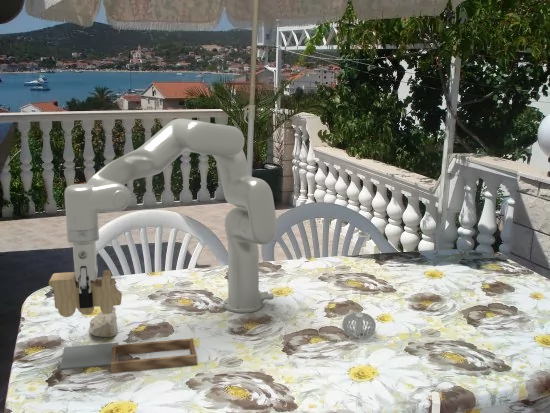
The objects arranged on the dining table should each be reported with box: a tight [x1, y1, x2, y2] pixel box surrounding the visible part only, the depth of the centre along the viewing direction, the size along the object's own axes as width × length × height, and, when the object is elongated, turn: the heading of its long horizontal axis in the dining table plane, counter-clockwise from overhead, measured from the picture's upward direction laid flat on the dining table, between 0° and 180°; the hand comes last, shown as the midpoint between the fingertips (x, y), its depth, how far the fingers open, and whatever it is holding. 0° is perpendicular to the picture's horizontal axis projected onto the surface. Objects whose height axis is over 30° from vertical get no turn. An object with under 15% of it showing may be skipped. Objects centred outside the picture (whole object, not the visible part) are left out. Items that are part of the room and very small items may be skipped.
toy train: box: [48, 269, 123, 318], centre depth 157 cm, size 6×17×10 cm, turn 101°
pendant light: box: [342, 231, 377, 340], centre depth 172 cm, size 9×9×30 cm
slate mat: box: [59, 342, 120, 371], centre depth 161 cm, size 14×12×1 cm
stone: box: [88, 306, 118, 338], centre depth 175 cm, size 8×12×10 cm, turn 11°
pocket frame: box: [110, 337, 198, 374], centre depth 160 cm, size 21×10×2 cm, turn 103°
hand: (87, 302), depth 158 cm, fingers closed on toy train, 5 cm apart
